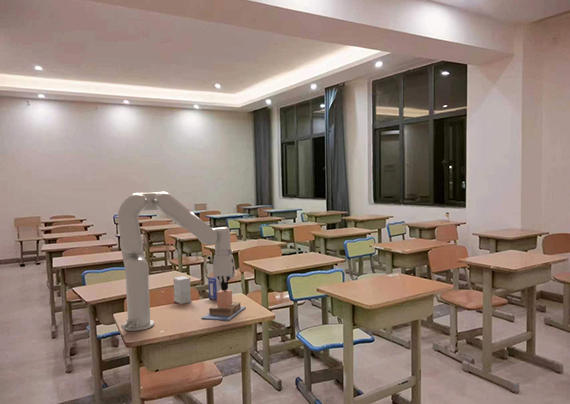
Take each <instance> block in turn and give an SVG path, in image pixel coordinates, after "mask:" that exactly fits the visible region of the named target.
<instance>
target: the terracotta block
mask: <svg viewBox="0 0 570 404" xmlns="http://www.w3.org/2000/svg"><path fill="white" fill-rule="evenodd" d="M232 302H233V290H232V289H227V290H226V291H224V290H223V291H222V290H220V291H218V292H217V300H216V304H217V307H229V306H230V305H232Z"/></svg>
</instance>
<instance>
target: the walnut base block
mask: <svg viewBox="0 0 570 404" xmlns="http://www.w3.org/2000/svg"><path fill="white" fill-rule="evenodd" d="M241 307H242V306H241V302H237V301H232V305H230V306H229V307H217V303H216V304H214V305H212V306H210V307H209V309H208V312H209V315H224V316H231V315H232V314H234V313H235V312H236V311H238V310H239V309H240V308H241Z"/></svg>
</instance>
